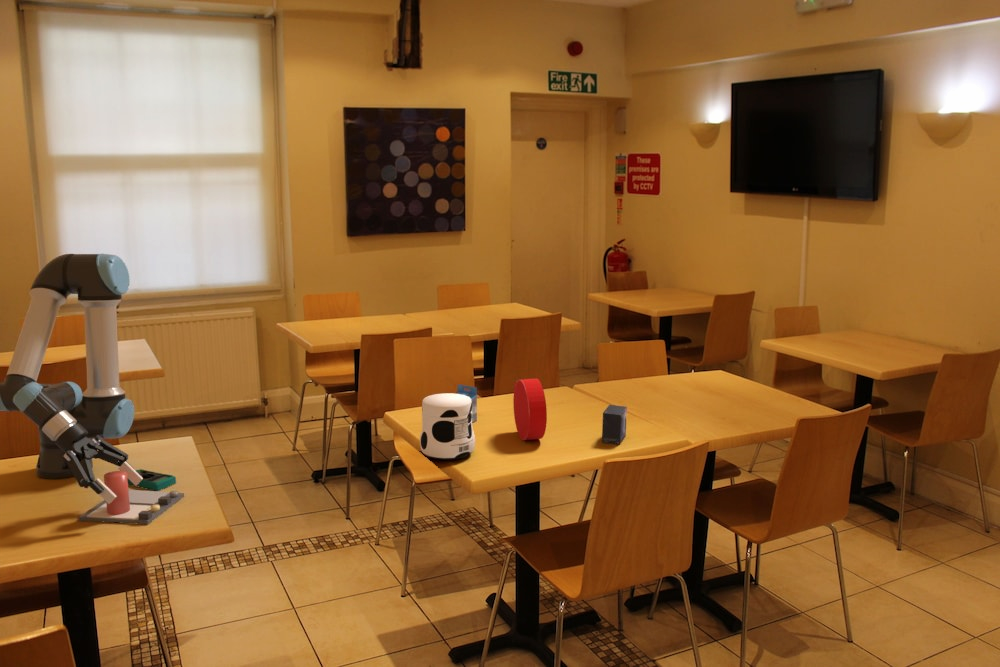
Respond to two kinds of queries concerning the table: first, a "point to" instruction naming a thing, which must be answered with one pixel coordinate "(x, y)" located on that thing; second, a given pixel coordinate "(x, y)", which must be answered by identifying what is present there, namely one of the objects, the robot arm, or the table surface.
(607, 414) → the small box
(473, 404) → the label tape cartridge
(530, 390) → the upright red puck
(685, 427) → the table surface
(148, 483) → the digital multimeter
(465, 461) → the table surface
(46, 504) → the table surface
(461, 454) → the milk container
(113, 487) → the pink domed cylinder
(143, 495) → the board
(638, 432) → the table surface
